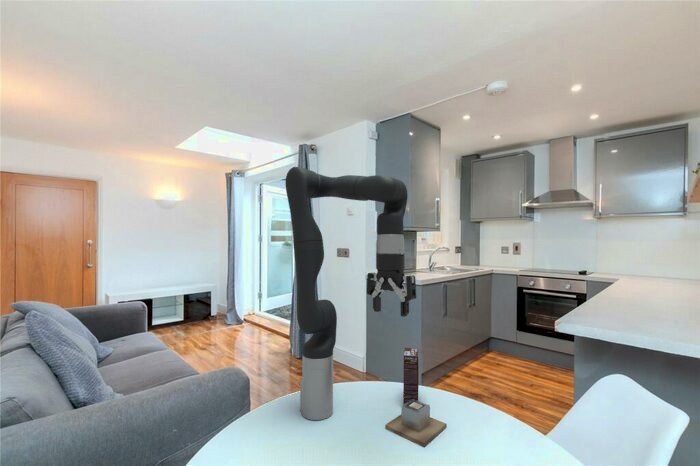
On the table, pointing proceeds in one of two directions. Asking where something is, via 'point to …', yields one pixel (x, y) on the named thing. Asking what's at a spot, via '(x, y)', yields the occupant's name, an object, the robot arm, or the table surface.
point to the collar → (415, 416)
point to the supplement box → (411, 374)
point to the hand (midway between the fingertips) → (390, 313)
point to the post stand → (414, 436)
